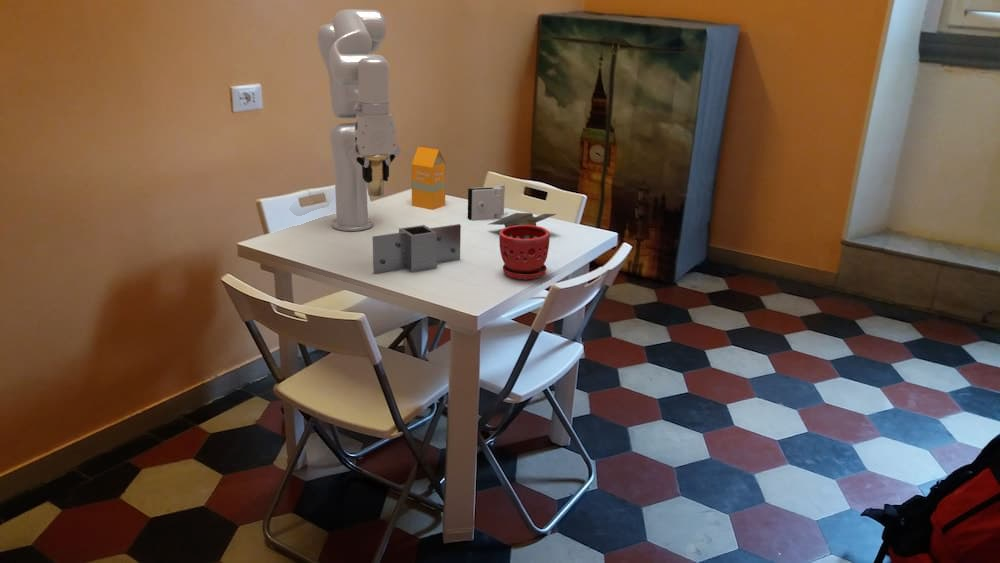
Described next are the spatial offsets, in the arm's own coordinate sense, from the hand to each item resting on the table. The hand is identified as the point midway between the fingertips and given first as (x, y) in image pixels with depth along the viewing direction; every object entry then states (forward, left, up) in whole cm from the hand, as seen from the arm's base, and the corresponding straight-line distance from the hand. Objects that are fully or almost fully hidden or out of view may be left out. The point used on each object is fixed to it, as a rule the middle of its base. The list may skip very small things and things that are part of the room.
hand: (375, 180), depth 202 cm
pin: (0, 0, -4) cm, 4 cm away
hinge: (-27, +50, -24) cm, 62 cm away
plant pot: (+23, +31, -24) cm, 46 cm away
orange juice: (-48, +39, -24) cm, 66 cm away
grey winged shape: (-7, +51, -24) cm, 56 cm away
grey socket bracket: (+5, +9, -23) cm, 26 cm away
